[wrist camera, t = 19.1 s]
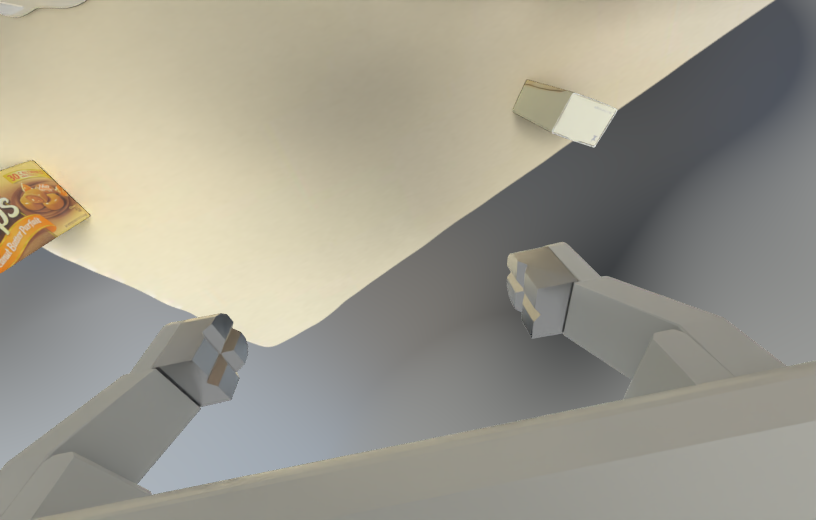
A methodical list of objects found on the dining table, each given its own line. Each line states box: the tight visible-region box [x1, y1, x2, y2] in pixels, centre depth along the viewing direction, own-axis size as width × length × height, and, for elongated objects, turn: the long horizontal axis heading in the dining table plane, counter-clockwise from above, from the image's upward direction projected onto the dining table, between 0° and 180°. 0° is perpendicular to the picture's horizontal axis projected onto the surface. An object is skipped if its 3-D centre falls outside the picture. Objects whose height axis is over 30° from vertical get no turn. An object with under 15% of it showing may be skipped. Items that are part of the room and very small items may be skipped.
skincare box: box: [513, 80, 617, 147], centre depth 38 cm, size 6×4×12 cm
